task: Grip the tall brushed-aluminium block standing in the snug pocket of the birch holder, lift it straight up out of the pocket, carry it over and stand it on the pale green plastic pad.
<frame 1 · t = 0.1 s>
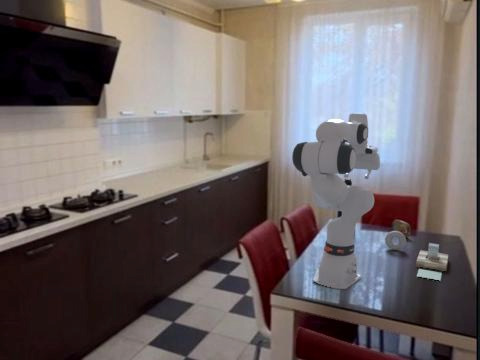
hand: (356, 177, 181), 39 cm above the table, tool pointing down, fingers open, 8 cm apart
aluminium block: (433, 254, 179), in the birch holder
tin: (400, 235, 223), on the table
birch holder: (432, 263, 180), on the table
beer bottle: (345, 236, 221), on the table
green pad: (429, 275, 166), on the table
donut: (394, 250, 198), on the table
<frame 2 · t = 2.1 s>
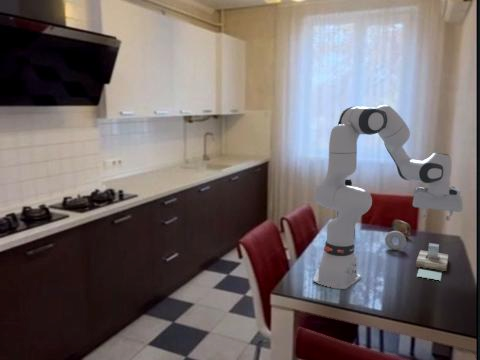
hand: (435, 218, 176), 21 cm above the table, tool pointing down, fingers open, 8 cm apart
nothing on the table moved.
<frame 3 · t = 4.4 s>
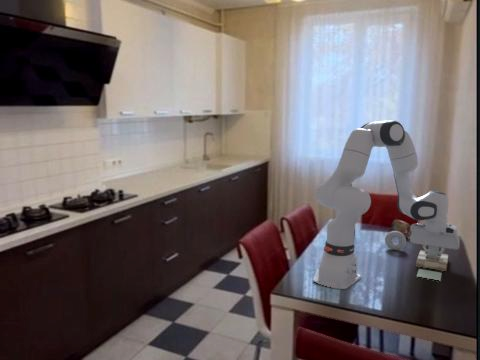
hand: (433, 255, 179), 4 cm above the table, tool pointing down, fingers closed on aluminium block, 4 cm apart
aluminium block: (433, 254, 179), in the birch holder, touching gripper
everything else where it was.
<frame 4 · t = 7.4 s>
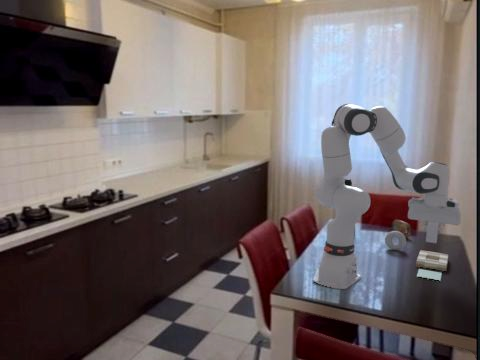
hand: (432, 232, 166), 18 cm above the table, tool pointing down, fingers closed on aluminium block, 4 cm apart
aluminium block: (432, 231, 166), point 19 cm above the table, touching gripper
everything else where it was.
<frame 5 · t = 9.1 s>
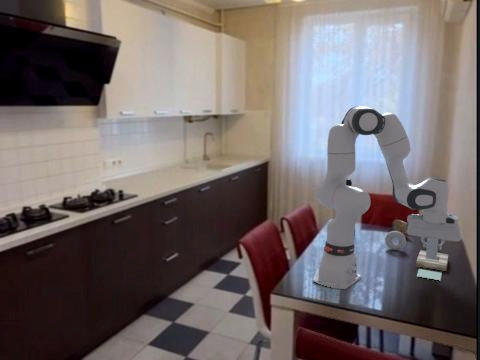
hand: (432, 248, 164), 12 cm above the table, tool pointing down, fingers closed on aluminium block, 4 cm apart
aluminium block: (432, 247, 164), point 13 cm above the table, touching gripper
everything else where it was.
when the fingers open (6 cm above the table, at t = 10.6 s): aluminium block stays where it is, resting on green pad.
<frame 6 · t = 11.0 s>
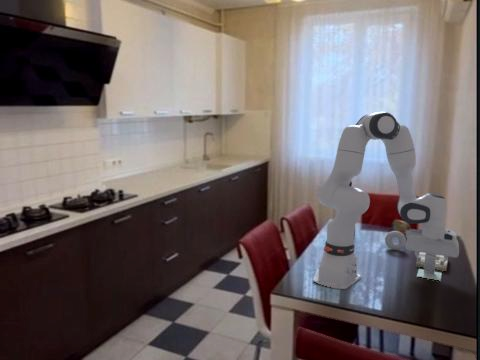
hand: (430, 263, 165), 6 cm above the table, tool pointing down, fingers open, 8 cm apart
aluminium block: (430, 264, 165), on the green pad, point 5 cm above the table
everything else where it was.
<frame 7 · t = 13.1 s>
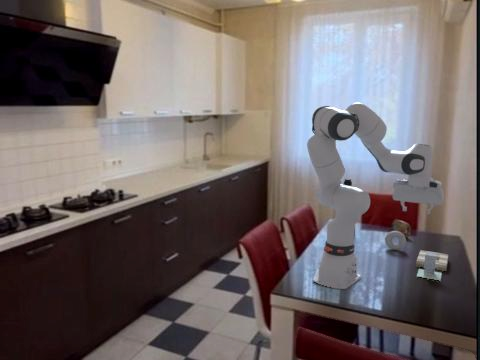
hand: (416, 212, 170), 26 cm above the table, tool pointing down, fingers open, 8 cm apart
nothing on the table moved.
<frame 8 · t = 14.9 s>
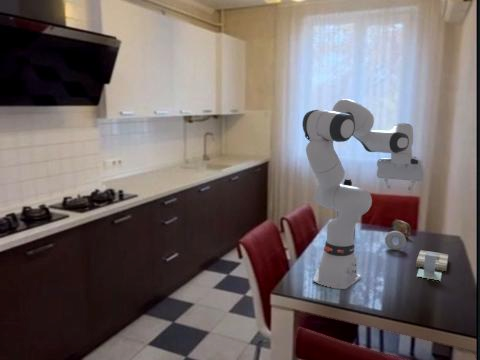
hand: (399, 189, 179), 34 cm above the table, tool pointing down, fingers open, 8 cm apart
nothing on the table moved.
at the end: aluminium block inside the target area on the green pad (0.1 cm from its centre), point 5.1 cm above the green pad's base; aluminium block tilted 0°; aluminium block touching green pad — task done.
